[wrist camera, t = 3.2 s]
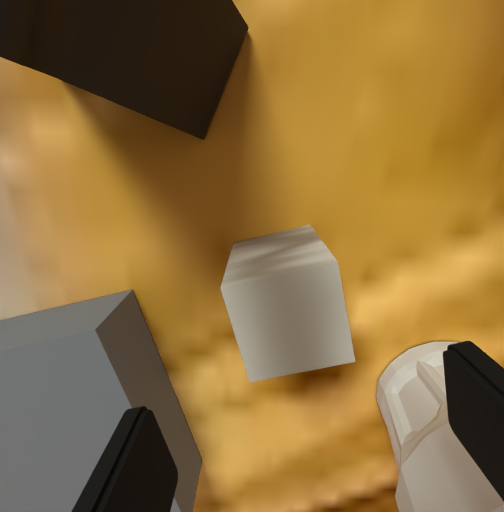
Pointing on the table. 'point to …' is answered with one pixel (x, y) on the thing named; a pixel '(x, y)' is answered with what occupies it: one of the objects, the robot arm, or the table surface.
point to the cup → (429, 438)
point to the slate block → (80, 400)
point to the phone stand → (132, 51)
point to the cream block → (286, 304)
